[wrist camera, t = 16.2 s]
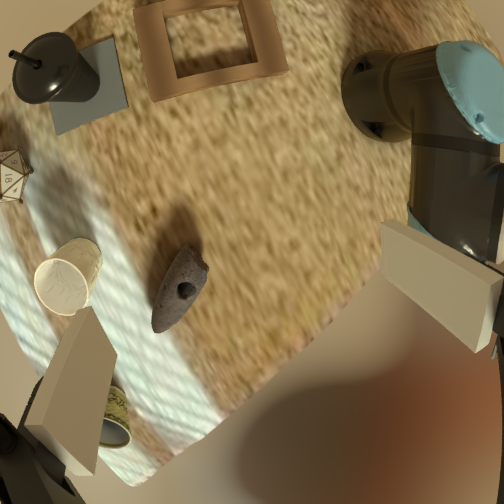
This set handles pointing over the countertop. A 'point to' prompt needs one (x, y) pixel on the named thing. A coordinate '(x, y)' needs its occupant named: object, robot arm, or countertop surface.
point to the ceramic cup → (115, 421)
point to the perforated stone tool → (179, 288)
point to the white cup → (68, 276)
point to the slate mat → (105, 99)
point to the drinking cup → (53, 71)
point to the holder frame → (167, 85)
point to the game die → (12, 175)
